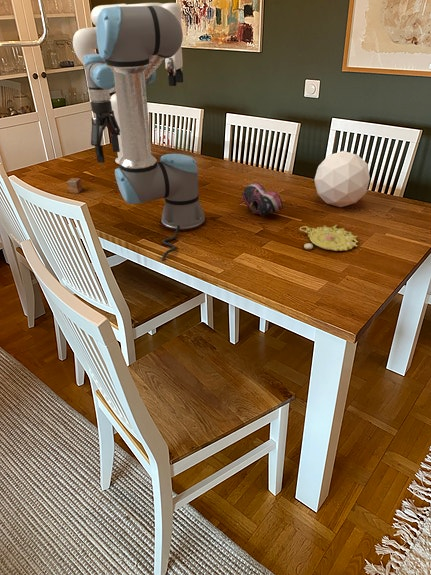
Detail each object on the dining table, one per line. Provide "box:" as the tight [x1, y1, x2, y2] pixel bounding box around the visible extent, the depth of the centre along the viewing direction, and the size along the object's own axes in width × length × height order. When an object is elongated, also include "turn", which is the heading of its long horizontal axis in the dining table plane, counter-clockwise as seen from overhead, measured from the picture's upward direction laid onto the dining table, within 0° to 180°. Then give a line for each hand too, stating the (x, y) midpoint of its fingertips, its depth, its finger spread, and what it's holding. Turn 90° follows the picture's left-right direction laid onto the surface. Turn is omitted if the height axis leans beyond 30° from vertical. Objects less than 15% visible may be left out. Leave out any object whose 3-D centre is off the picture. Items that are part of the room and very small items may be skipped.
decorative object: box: [299, 224, 359, 252], centre depth 141 cm, size 21×2×20 cm
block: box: [66, 177, 84, 194], centre depth 184 cm, size 4×4×5 cm
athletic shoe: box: [238, 182, 284, 217], centre depth 160 cm, size 11×22×12 cm
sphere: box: [313, 150, 371, 208], centre depth 161 cm, size 19×20×20 cm
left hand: (176, 84), depth 190 cm, fingers open, 9 cm apart
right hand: (109, 156), depth 178 cm, fingers open, 13 cm apart
